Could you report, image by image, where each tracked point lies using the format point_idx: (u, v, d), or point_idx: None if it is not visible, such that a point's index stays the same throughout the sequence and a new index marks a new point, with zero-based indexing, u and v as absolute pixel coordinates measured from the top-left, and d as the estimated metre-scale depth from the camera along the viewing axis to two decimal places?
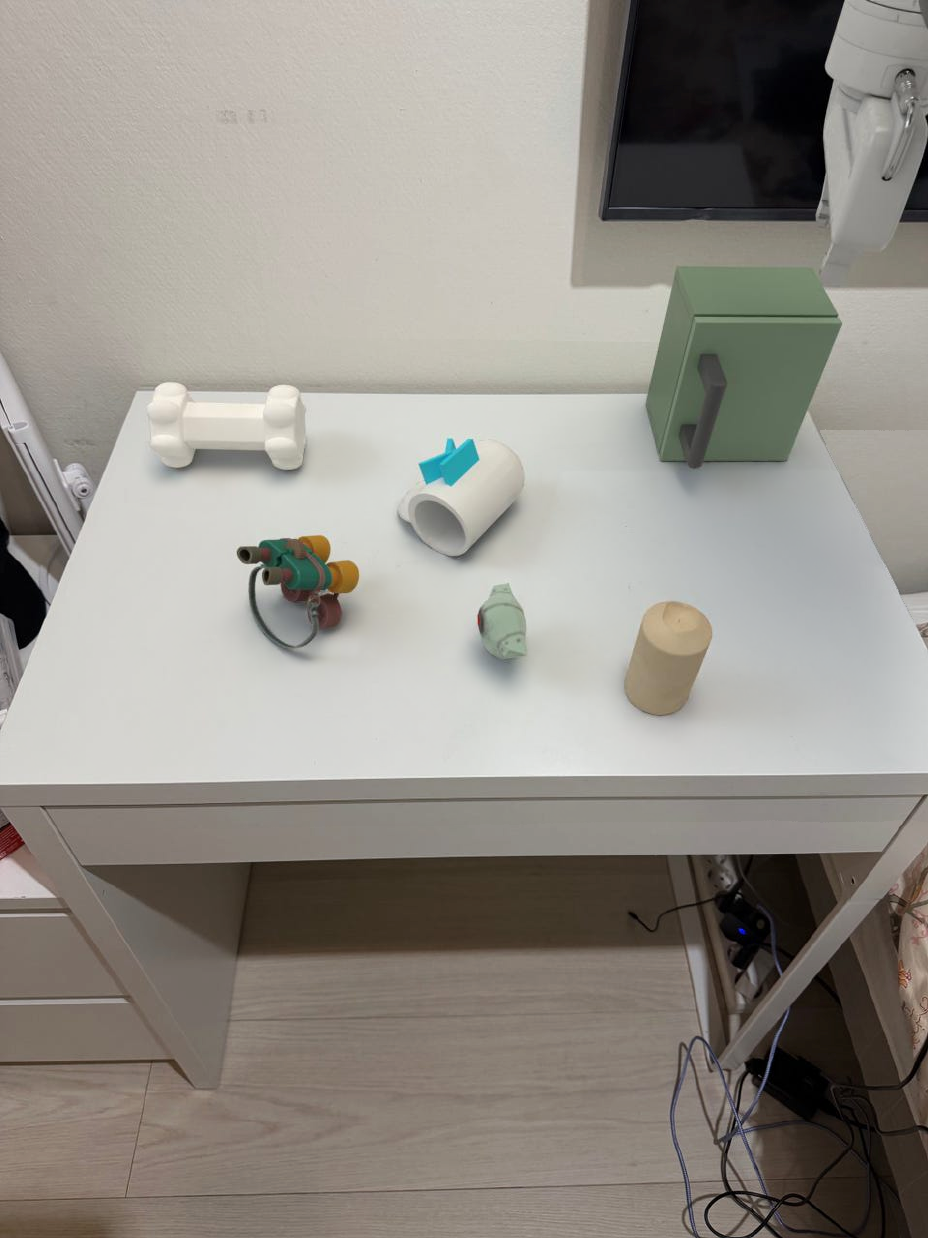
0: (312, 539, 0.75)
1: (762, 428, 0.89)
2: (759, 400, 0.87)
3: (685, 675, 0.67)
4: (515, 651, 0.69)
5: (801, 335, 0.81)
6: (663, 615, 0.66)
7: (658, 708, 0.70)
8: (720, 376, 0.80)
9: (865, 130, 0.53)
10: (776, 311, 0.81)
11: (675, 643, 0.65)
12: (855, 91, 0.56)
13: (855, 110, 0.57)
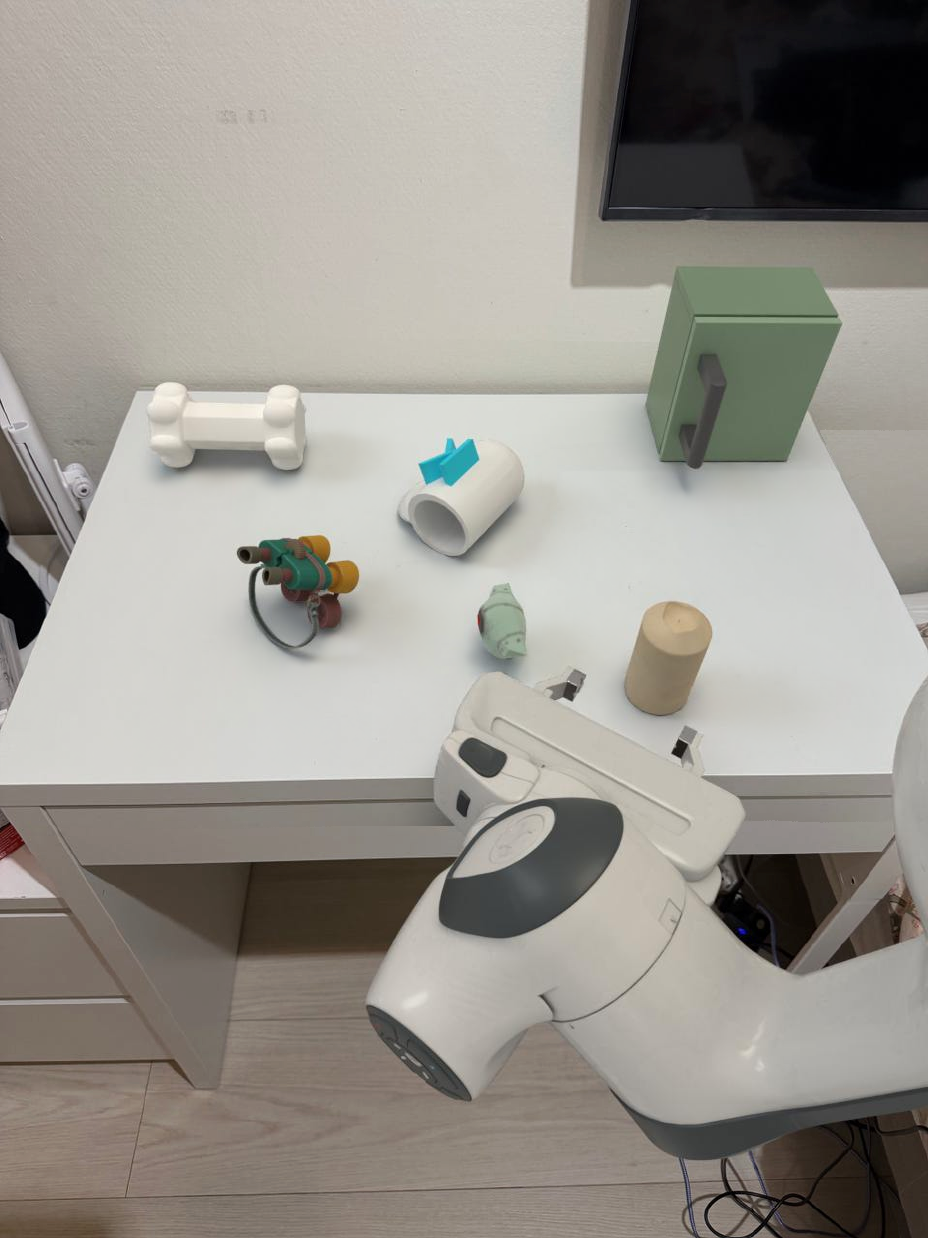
0: (312, 539, 0.75)
1: (762, 428, 0.89)
2: (759, 400, 0.87)
3: (685, 675, 0.67)
4: (515, 651, 0.69)
5: (801, 335, 0.81)
6: (663, 615, 0.66)
7: (658, 708, 0.70)
8: (720, 376, 0.80)
9: None
10: (776, 311, 0.81)
11: (675, 643, 0.65)
12: None
13: None
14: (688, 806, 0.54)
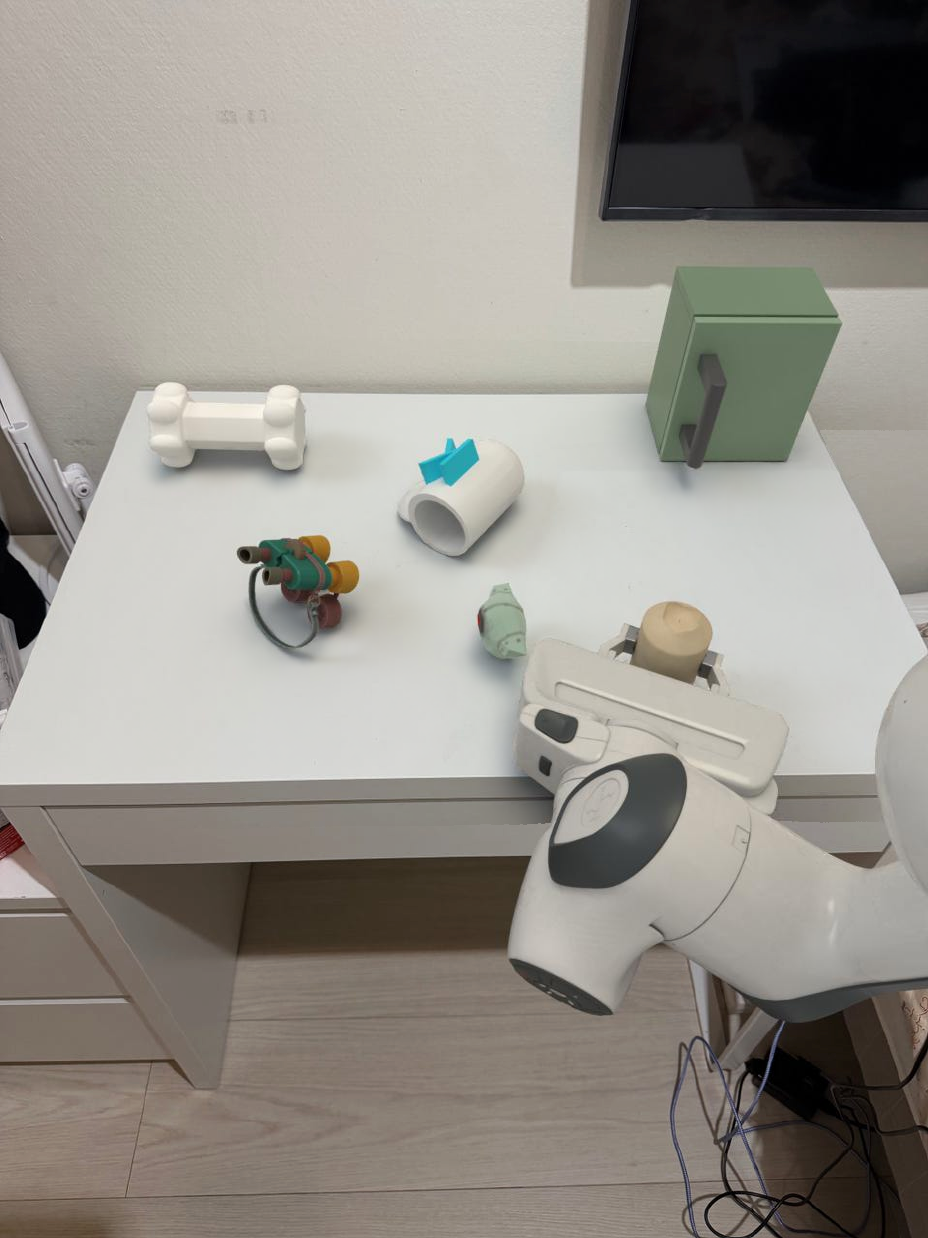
0: (312, 539, 0.75)
1: (762, 428, 0.89)
2: (759, 400, 0.87)
3: (685, 675, 0.67)
4: (515, 651, 0.69)
5: (801, 335, 0.81)
6: (663, 615, 0.66)
7: None
8: (720, 376, 0.80)
9: None
10: (776, 311, 0.81)
11: (675, 643, 0.65)
12: None
13: None
14: (739, 731, 0.62)
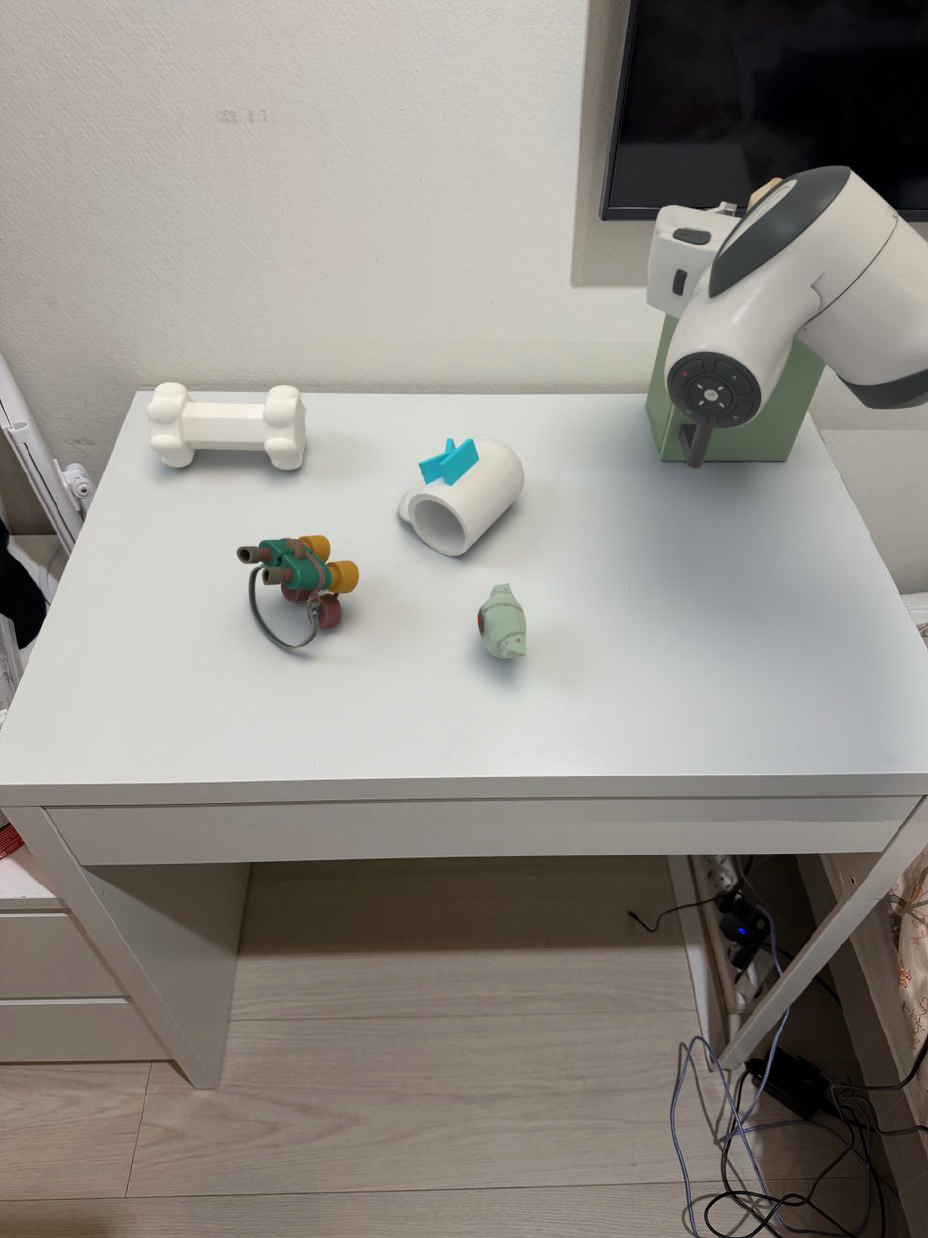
0: (312, 539, 0.75)
1: (762, 428, 0.89)
2: None
3: None
4: (515, 651, 0.69)
5: None
6: (770, 187, 0.76)
7: None
8: None
9: None
10: None
11: None
12: None
13: None
14: None
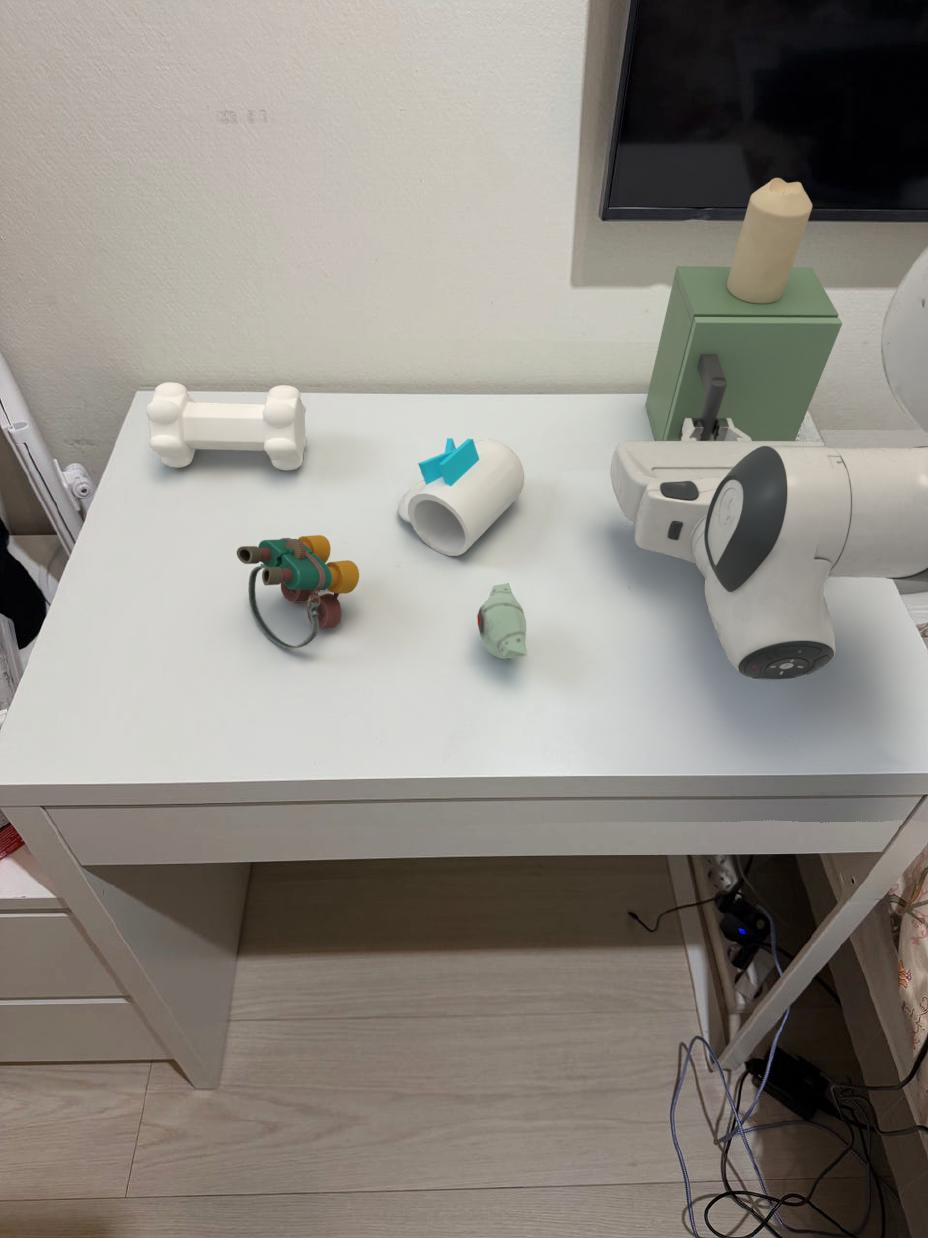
0: (312, 539, 0.75)
1: (762, 428, 0.89)
2: (759, 400, 0.87)
3: (787, 246, 0.77)
4: (515, 651, 0.69)
5: (801, 335, 0.81)
6: (770, 187, 0.76)
7: (759, 292, 0.81)
8: (720, 376, 0.80)
9: None
10: (776, 311, 0.81)
11: (782, 204, 0.75)
12: None
13: None
14: None
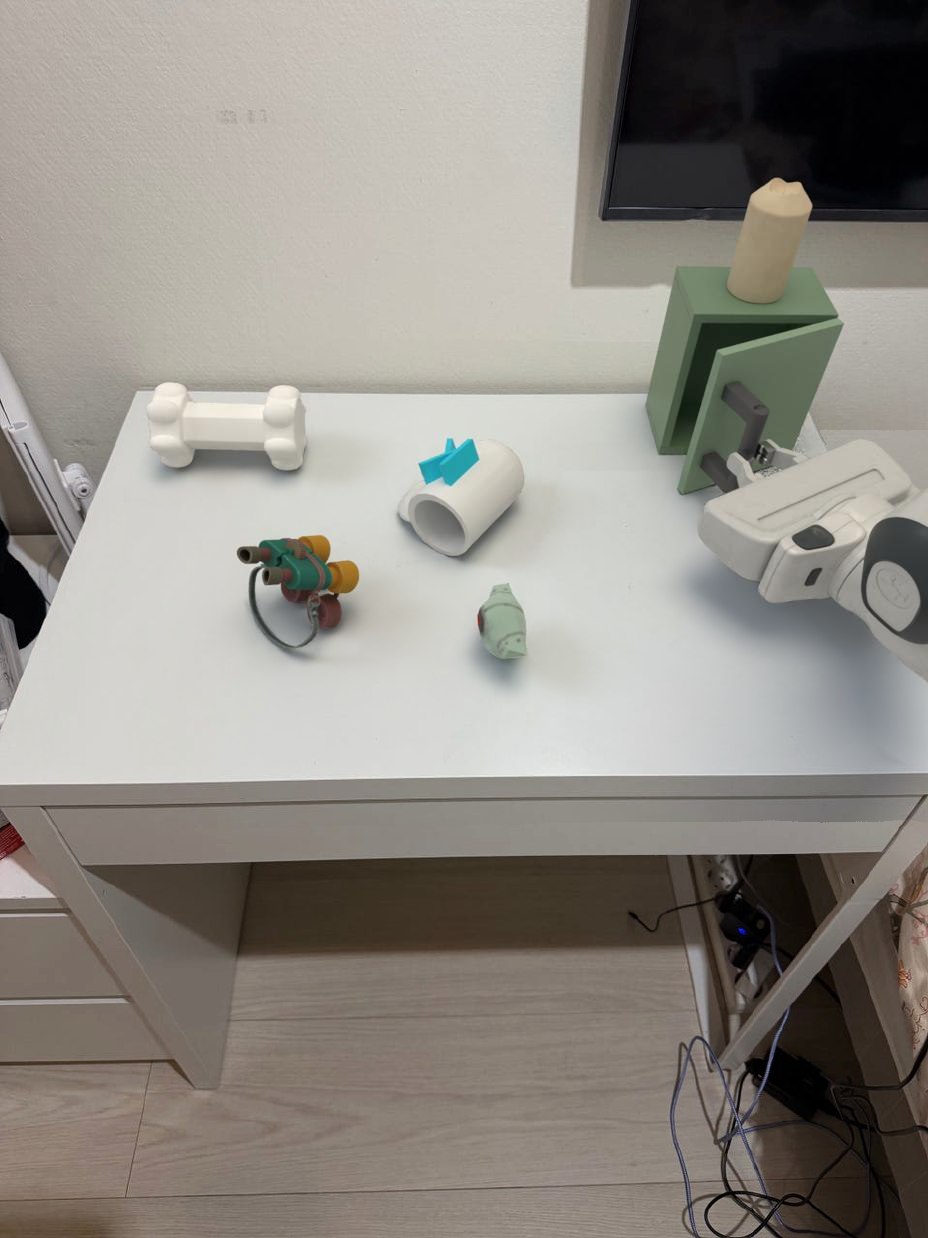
0: (312, 539, 0.75)
1: (771, 437, 0.88)
2: (771, 413, 0.85)
3: (787, 246, 0.77)
4: (515, 651, 0.69)
5: (810, 343, 0.80)
6: (770, 187, 0.76)
7: (759, 292, 0.81)
8: (759, 403, 0.77)
9: None
10: (776, 311, 0.81)
11: (782, 204, 0.75)
12: None
13: None
14: (863, 463, 0.77)
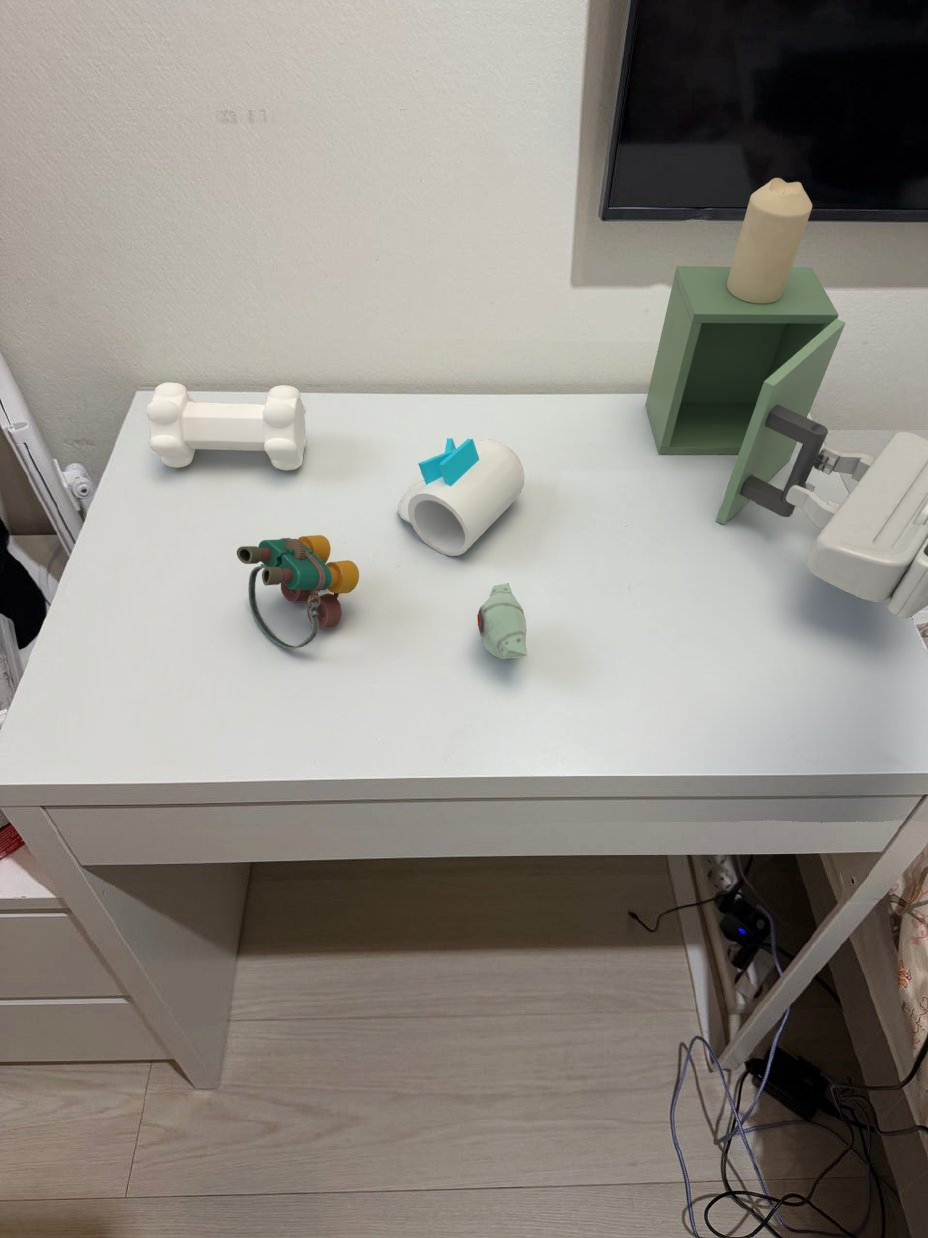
0: (312, 539, 0.75)
1: (784, 445, 0.88)
2: None
3: (787, 246, 0.77)
4: (515, 651, 0.69)
5: (824, 349, 0.79)
6: (770, 187, 0.76)
7: (759, 292, 0.81)
8: (813, 423, 0.75)
9: None
10: (776, 311, 0.81)
11: (782, 204, 0.75)
12: None
13: None
14: (917, 456, 0.78)
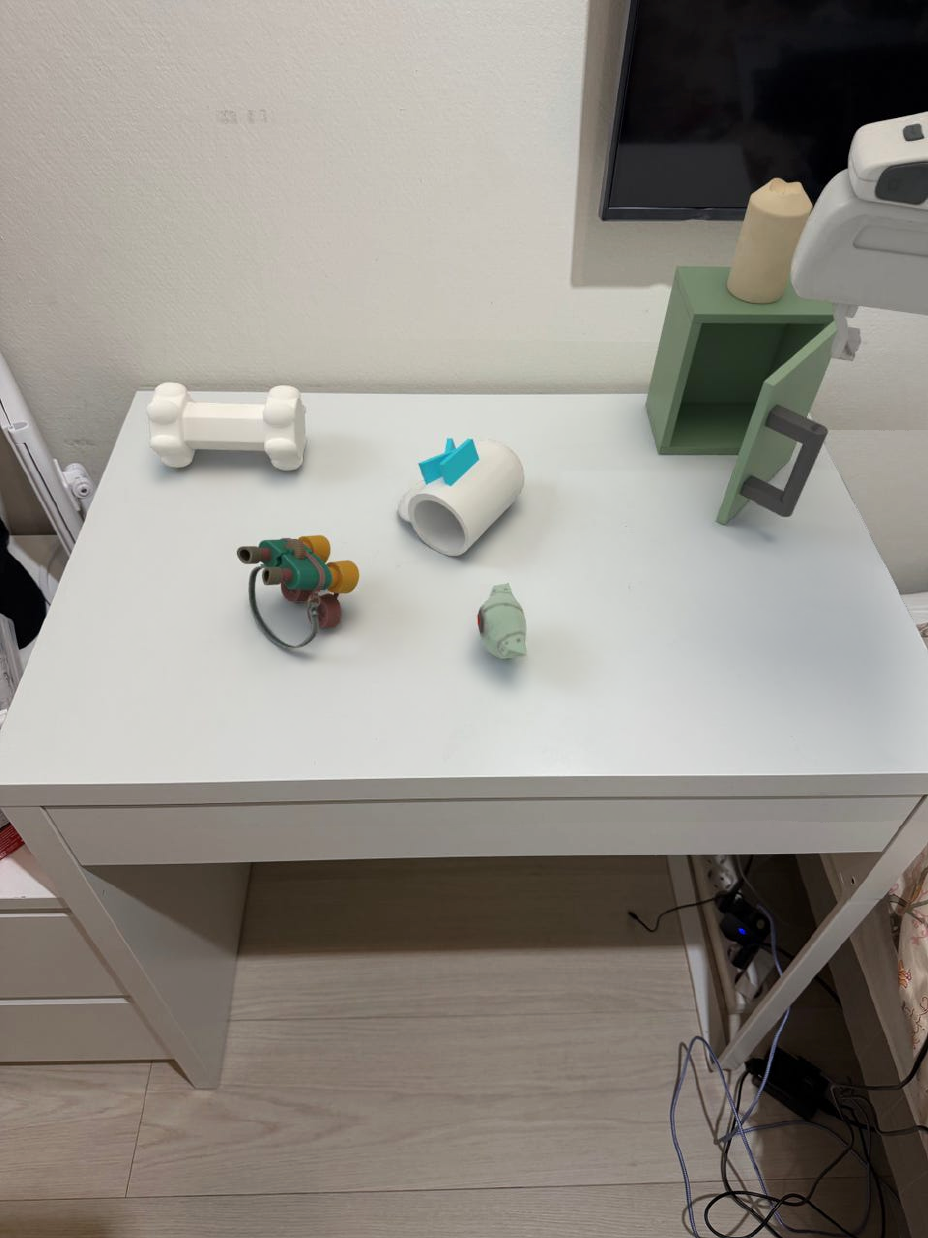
0: (312, 539, 0.75)
1: (784, 445, 0.88)
2: None
3: (787, 246, 0.77)
4: (515, 651, 0.69)
5: (824, 349, 0.79)
6: (770, 187, 0.76)
7: (759, 292, 0.81)
8: (813, 423, 0.75)
9: None
10: (776, 311, 0.81)
11: (782, 204, 0.75)
12: None
13: None
14: None
